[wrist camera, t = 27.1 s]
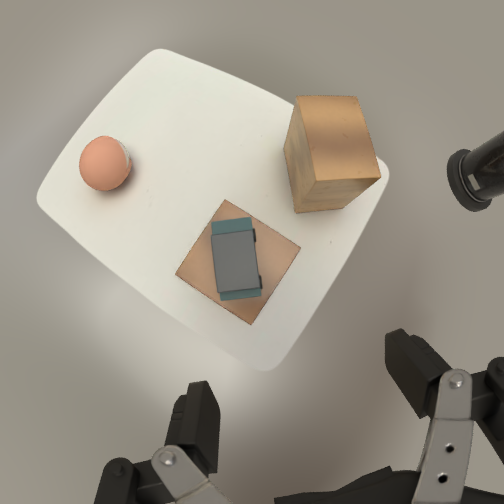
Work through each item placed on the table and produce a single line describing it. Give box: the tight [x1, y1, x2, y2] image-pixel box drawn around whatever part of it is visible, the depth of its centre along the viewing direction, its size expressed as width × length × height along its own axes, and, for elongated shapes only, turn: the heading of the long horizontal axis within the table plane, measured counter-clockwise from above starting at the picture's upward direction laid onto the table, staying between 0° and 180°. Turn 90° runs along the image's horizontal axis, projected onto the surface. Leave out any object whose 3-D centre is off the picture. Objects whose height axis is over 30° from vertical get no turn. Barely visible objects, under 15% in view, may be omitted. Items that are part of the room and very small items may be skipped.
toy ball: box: [79, 136, 132, 191], centre depth 35 cm, size 8×8×8 cm
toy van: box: [211, 217, 263, 301], centre depth 33 cm, size 9×5×8 cm, turn 7°
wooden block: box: [284, 96, 381, 213], centre depth 32 cm, size 10×7×13 cm
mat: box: [175, 200, 301, 325], centre depth 37 cm, size 12×12×1 cm
